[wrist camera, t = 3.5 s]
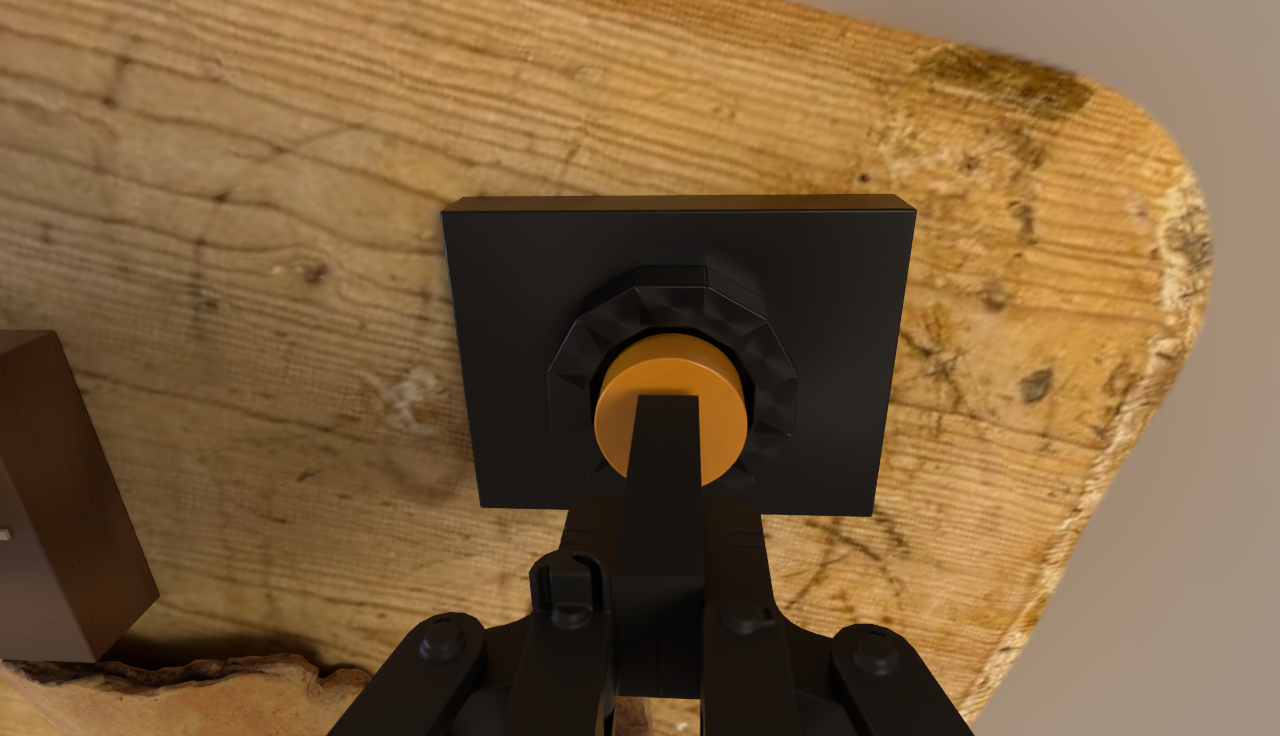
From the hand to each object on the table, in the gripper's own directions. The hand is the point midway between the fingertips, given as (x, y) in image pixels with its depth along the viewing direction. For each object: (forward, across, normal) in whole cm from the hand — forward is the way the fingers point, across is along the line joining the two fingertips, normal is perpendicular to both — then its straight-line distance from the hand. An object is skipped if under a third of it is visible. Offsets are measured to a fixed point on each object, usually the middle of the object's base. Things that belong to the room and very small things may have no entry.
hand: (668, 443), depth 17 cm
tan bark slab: (+6, -20, -17) cm, 27 cm away
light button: (+2, 0, 0) cm, 2 cm away
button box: (+6, 0, 0) cm, 6 cm away
